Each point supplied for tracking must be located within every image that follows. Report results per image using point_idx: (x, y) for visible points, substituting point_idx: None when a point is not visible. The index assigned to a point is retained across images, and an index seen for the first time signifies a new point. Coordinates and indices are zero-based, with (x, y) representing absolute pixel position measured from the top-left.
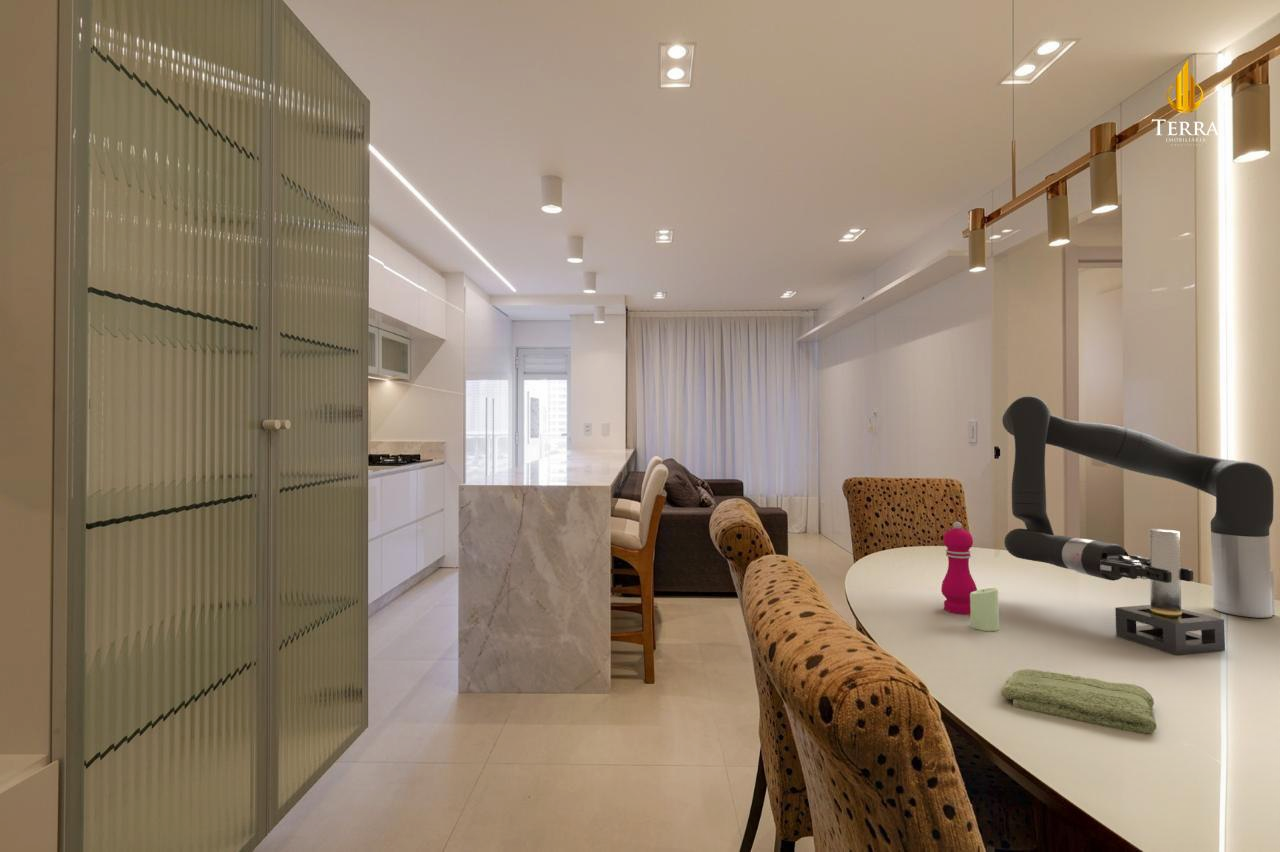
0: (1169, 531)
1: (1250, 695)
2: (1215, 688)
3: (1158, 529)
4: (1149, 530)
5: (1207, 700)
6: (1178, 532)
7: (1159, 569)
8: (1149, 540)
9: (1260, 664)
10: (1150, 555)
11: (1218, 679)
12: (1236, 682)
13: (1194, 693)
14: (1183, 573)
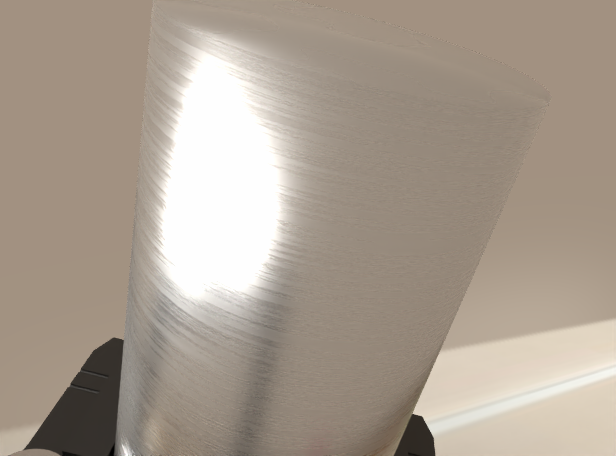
0: (361, 27)
1: (471, 370)
2: (514, 417)
3: (302, 49)
4: (523, 120)
5: (593, 403)
6: (331, 9)
7: (406, 435)
8: (433, 298)
9: None
10: (394, 447)
11: (447, 433)
12: (421, 406)
13: (593, 429)
14: None
